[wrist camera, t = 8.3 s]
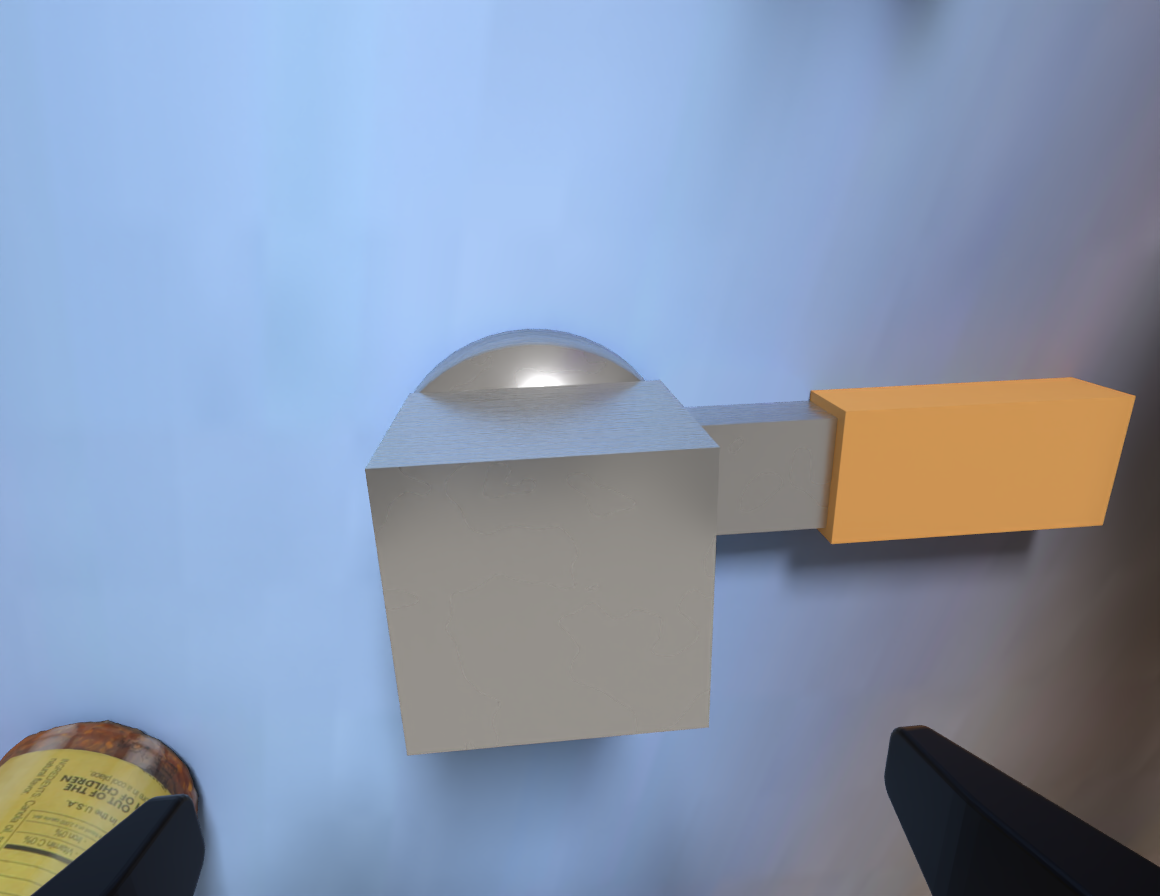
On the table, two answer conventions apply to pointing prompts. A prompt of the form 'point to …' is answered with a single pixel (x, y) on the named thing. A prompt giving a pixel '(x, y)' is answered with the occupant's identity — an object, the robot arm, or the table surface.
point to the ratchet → (866, 446)
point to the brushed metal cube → (546, 563)
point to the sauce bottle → (76, 795)
